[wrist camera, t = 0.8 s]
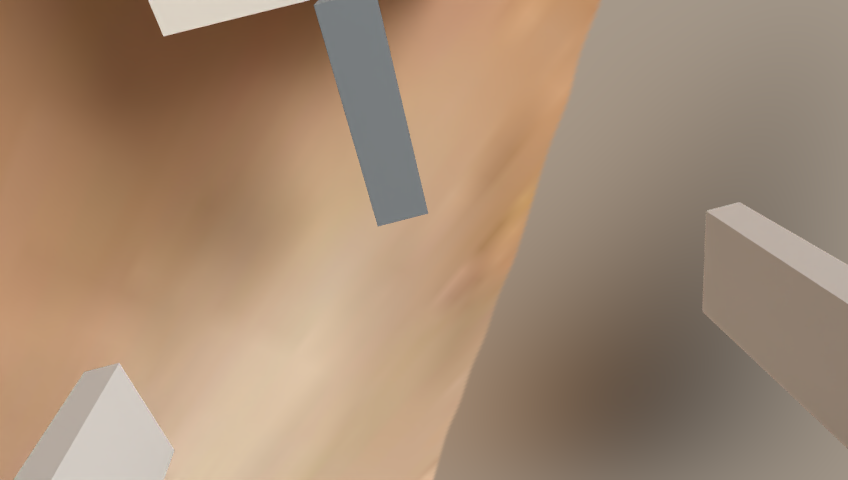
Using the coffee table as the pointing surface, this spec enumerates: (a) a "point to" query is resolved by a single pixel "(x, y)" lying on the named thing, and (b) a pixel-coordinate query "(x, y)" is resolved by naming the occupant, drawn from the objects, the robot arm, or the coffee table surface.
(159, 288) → the coffee table surface
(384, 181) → the flap
